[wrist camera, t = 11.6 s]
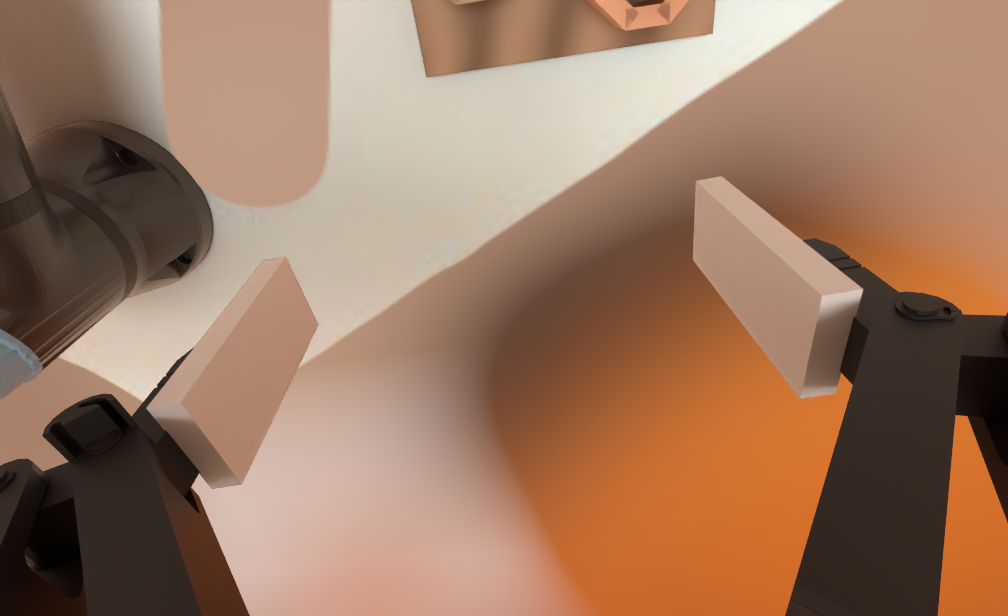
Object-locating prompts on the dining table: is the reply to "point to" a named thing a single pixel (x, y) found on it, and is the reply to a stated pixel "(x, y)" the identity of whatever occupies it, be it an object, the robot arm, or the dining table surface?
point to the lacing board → (533, 31)
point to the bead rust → (638, 12)
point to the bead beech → (463, 1)
